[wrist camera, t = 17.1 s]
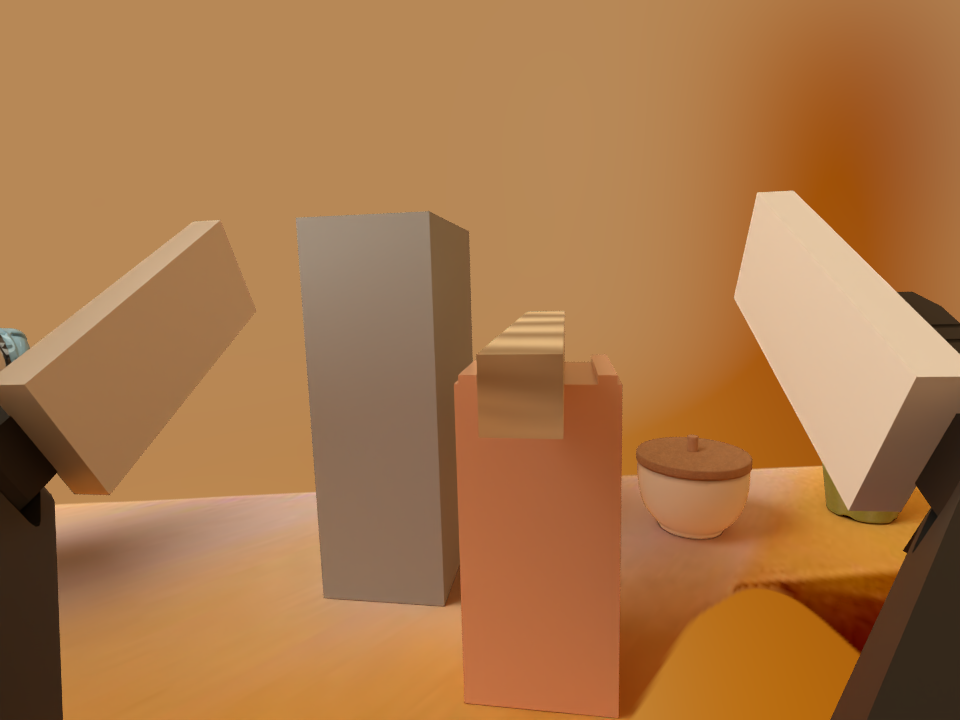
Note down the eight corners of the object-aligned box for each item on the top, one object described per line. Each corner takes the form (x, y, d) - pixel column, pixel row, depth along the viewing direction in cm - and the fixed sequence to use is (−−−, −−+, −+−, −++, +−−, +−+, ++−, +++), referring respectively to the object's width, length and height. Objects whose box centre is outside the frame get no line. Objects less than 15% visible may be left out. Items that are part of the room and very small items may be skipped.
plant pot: (793, 493, 62) (798, 419, 61) (884, 496, 61) (891, 421, 59) (831, 529, 53) (837, 444, 52) (940, 535, 51) (948, 447, 50)
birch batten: (563, 439, 19) (563, 354, 18) (478, 437, 19) (476, 354, 19) (564, 347, 44) (564, 311, 44) (527, 347, 45) (527, 311, 44)
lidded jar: (617, 530, 54) (618, 439, 53) (659, 496, 62) (661, 417, 61) (730, 563, 47) (734, 460, 46) (761, 520, 55) (765, 432, 54)
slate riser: (444, 606, 42) (429, 211, 38) (323, 597, 44) (296, 217, 39) (477, 517, 58) (468, 231, 53) (387, 514, 59) (372, 235, 55)
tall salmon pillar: (618, 718, 31) (622, 375, 28) (464, 703, 32) (453, 375, 30) (607, 629, 39) (610, 354, 36) (484, 620, 40) (476, 355, 37)
